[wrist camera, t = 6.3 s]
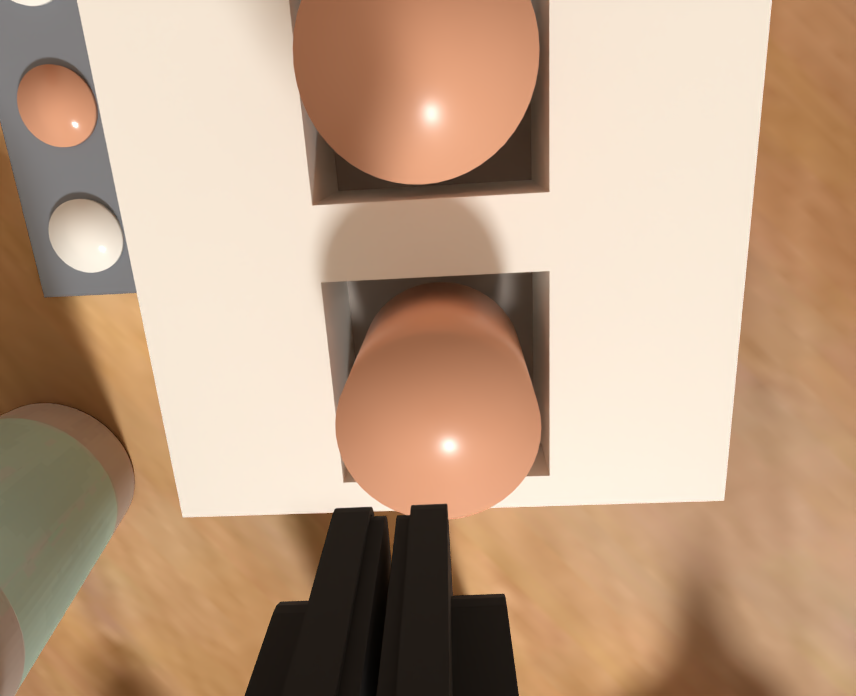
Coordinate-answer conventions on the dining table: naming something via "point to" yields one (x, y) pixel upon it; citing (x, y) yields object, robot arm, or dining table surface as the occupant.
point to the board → (439, 245)
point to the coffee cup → (52, 521)
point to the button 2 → (416, 81)
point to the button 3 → (439, 403)
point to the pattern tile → (60, 151)
